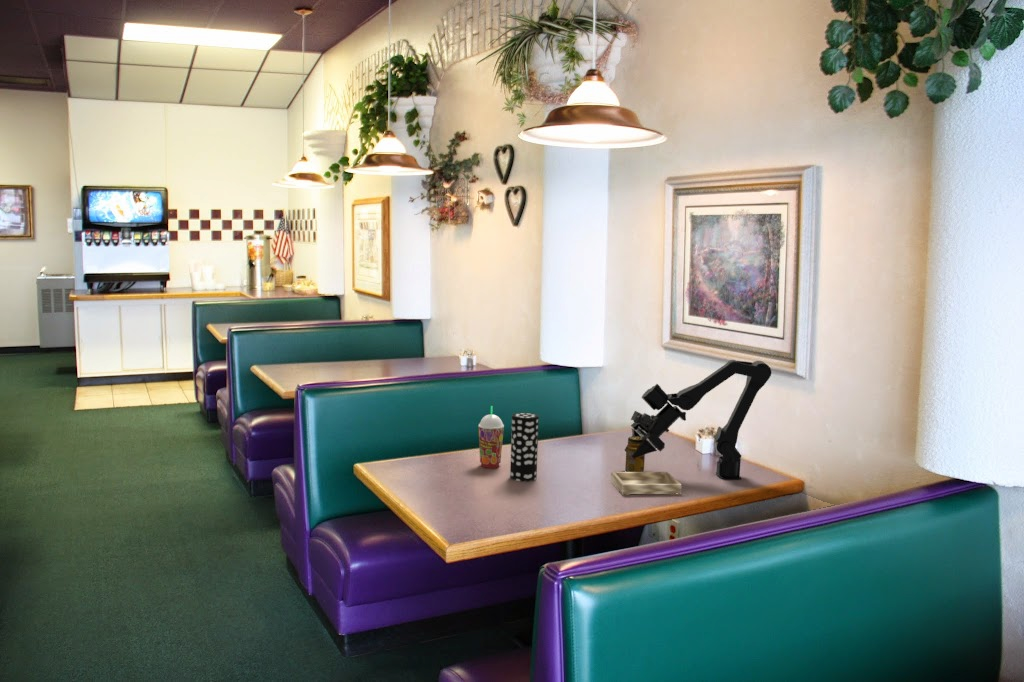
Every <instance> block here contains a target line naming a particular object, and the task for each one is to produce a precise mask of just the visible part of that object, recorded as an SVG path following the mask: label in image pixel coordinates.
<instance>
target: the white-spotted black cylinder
mask: <svg viewBox="0 0 1024 682" xmlns="http://www.w3.org/2000/svg"><path fill="white" fill-rule="evenodd" d="M539 417H540V416H539V414H537V413H532V412H515V413H513V414H512V415H511V435H510V436H511V438H510V442H511V443H510V467H509V468H510V470H509V471H510V473H509V474H510V475H509V477H510V479H511V480H513V481H516V482H532V481H536V479H537V478H538V477H537V475H538V473H537V472H538V448H539V447H538V445H539V444H538V443H539V419H540V418H539Z"/></svg>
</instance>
